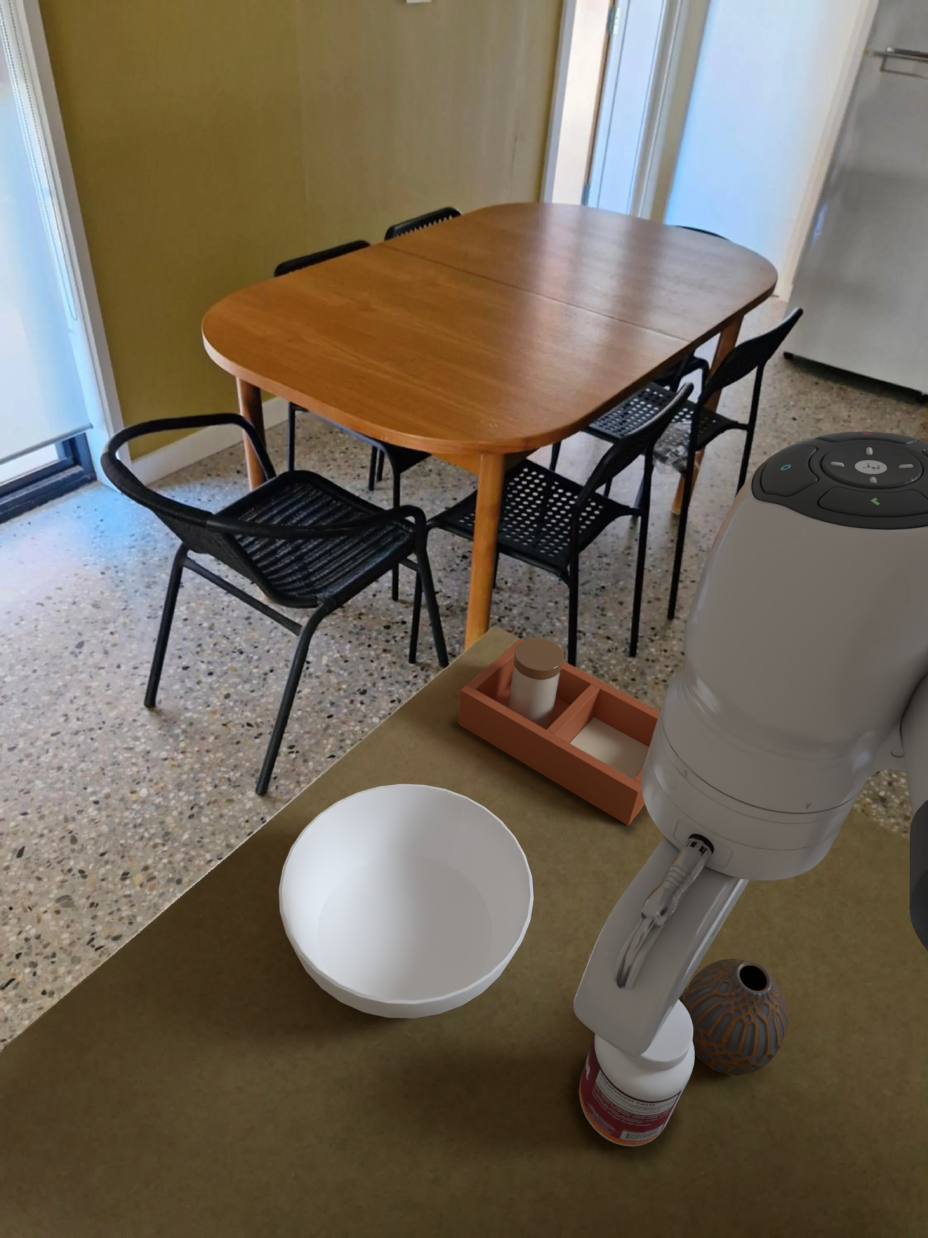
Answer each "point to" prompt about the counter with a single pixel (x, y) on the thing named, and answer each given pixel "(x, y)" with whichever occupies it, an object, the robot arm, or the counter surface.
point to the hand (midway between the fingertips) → (677, 943)
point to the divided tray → (569, 734)
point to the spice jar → (535, 679)
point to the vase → (736, 1016)
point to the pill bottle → (638, 1083)
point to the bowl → (405, 899)
